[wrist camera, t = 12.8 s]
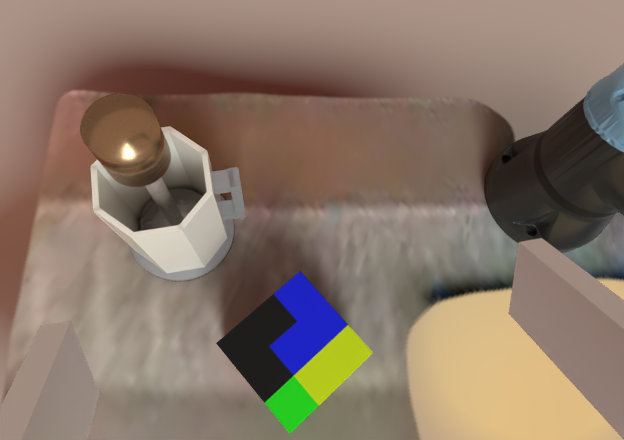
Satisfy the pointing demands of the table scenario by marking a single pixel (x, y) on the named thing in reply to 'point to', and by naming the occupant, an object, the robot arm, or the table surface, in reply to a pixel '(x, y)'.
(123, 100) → the plunger
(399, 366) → the table surface
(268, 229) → the table surface
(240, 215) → the jug
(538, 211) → the robot arm
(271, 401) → the puzzle toy
